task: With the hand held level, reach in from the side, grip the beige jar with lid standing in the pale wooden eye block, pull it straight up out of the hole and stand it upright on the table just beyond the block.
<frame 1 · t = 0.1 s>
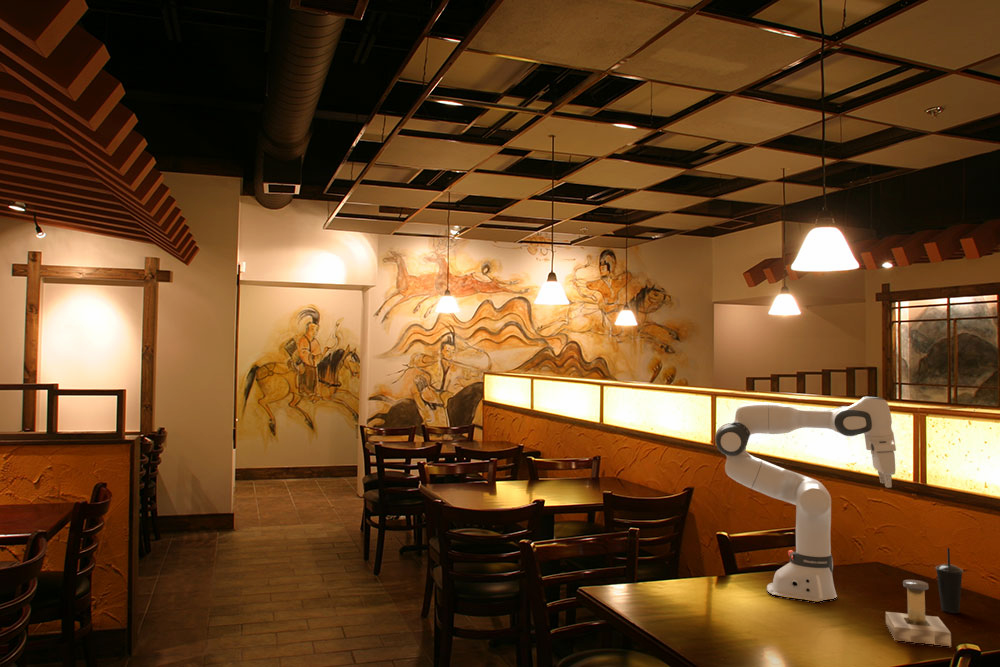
hand: (886, 485, 241), 39 cm above the table, tool pointing down, fingers open, 8 cm apart
eye block: (917, 635, 208), on the table
drinking cup: (950, 612, 230), on the table
beige jar with lid: (916, 609, 209), in the eye block
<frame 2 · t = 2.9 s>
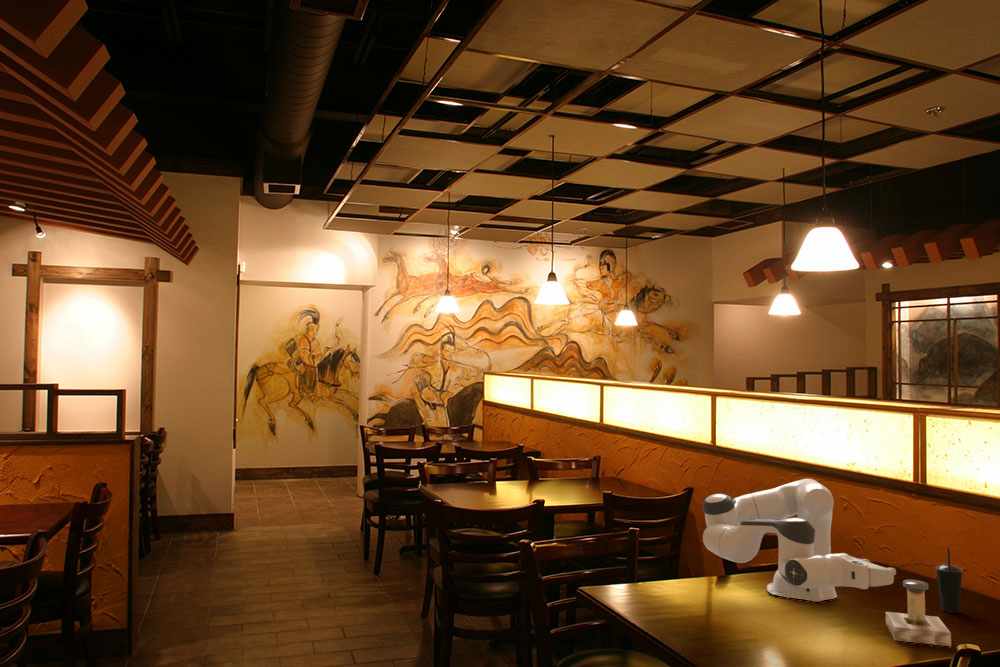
hand: (880, 566, 206), 21 cm above the table, tool horizontal, fingers open, 8 cm apart
nothing on the table moved.
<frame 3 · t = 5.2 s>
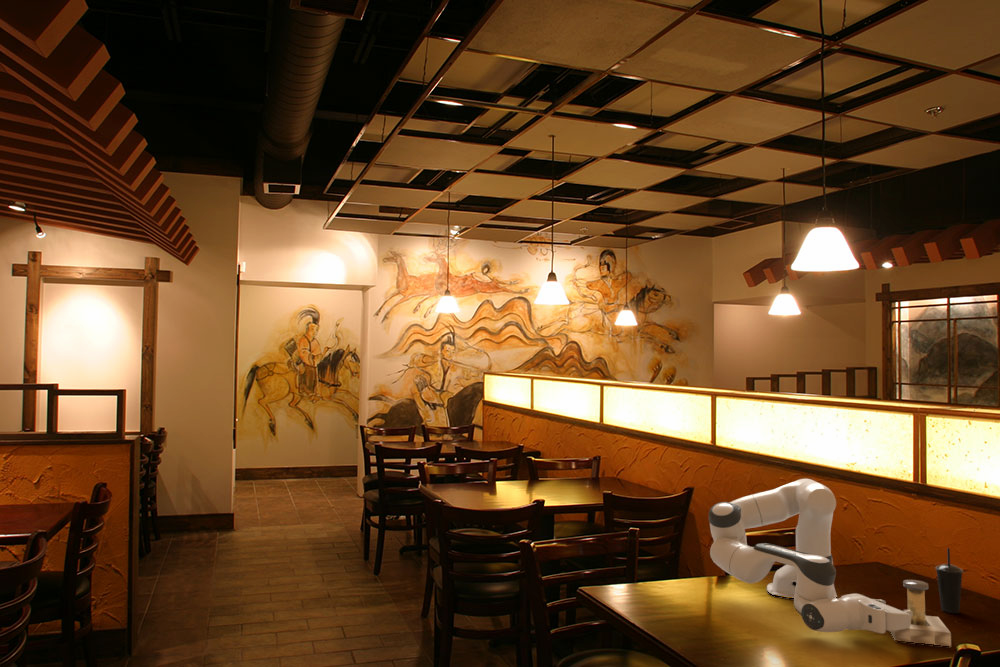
hand: (896, 608, 206), 9 cm above the table, tool horizontal, fingers open, 8 cm apart
nothing on the table moved.
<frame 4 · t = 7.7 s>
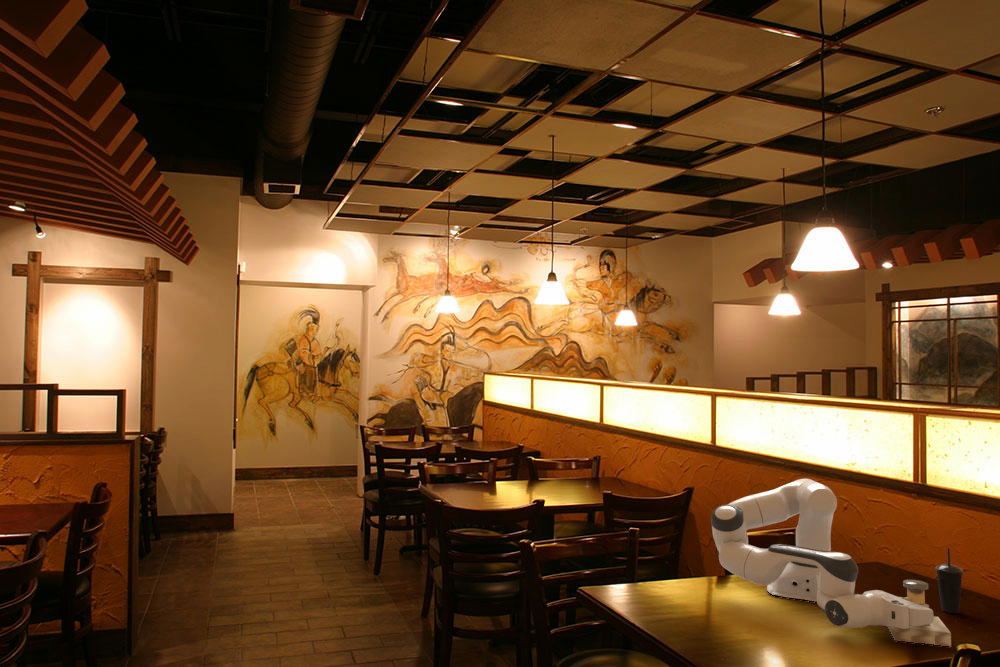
hand: (918, 604, 209), 9 cm above the table, tool horizontal, fingers closed on beige jar with lid, 4 cm apart
beige jar with lid: (916, 609, 209), in the eye block, touching gripper
everything else where it was.
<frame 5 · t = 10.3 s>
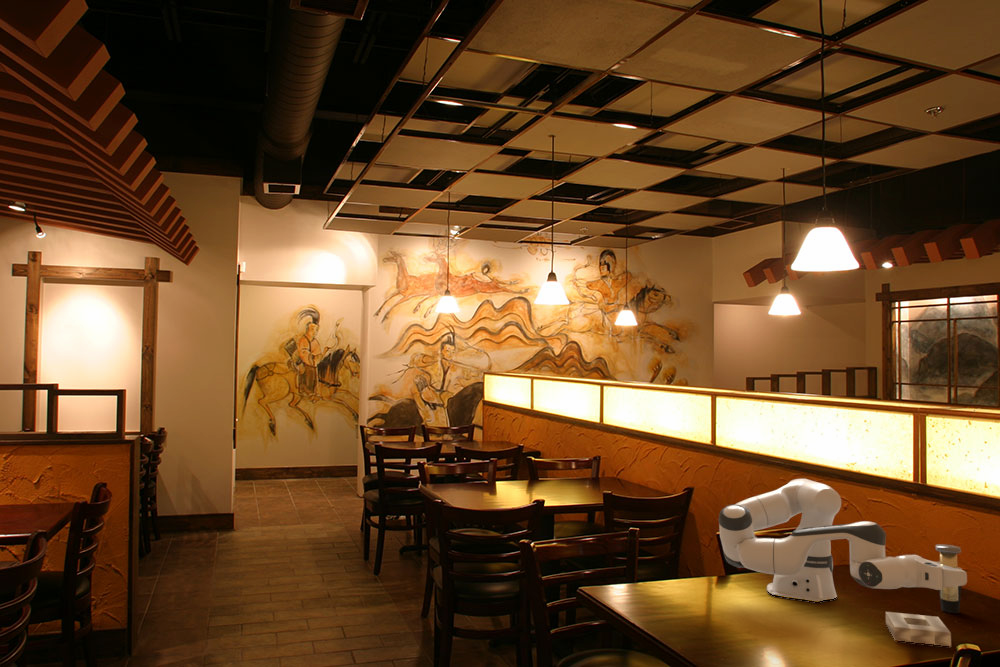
hand: (951, 567, 212), 19 cm above the table, tool horizontal, fingers closed on beige jar with lid, 4 cm apart
beige jar with lid: (948, 572, 212), point 17 cm above the table, touching gripper
everything else where it was.
when the fingers open (10 cm above the table, at t = 13.0 s): beige jar with lid drops 1 cm, on the table.
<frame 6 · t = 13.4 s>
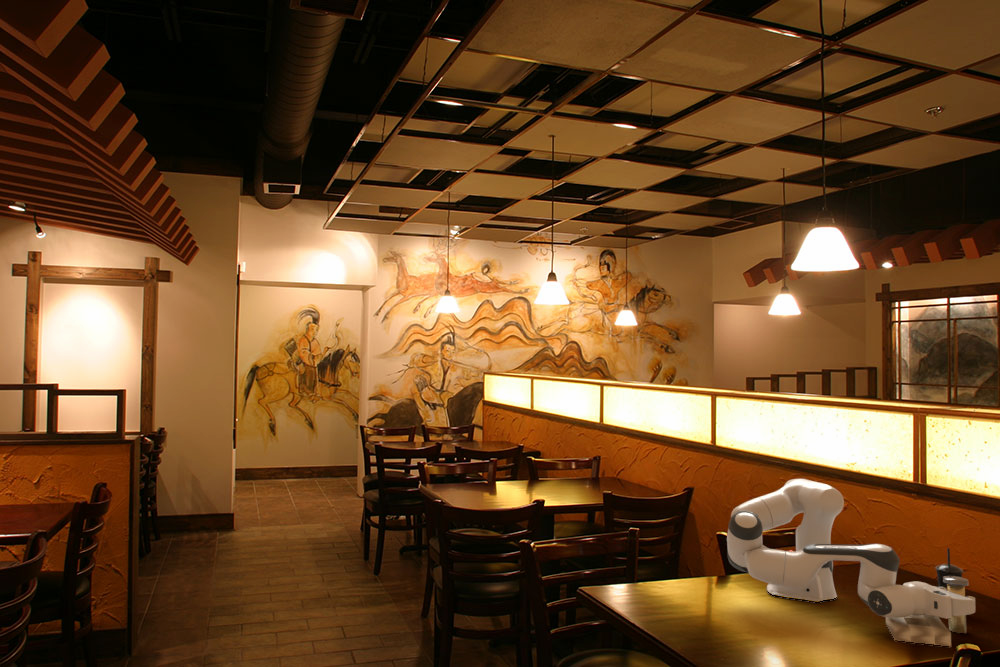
hand: (958, 594, 213), 10 cm above the table, tool horizontal, fingers open, 8 cm apart
beige jar with lid: (956, 604, 213), on the table
everything else where it was.
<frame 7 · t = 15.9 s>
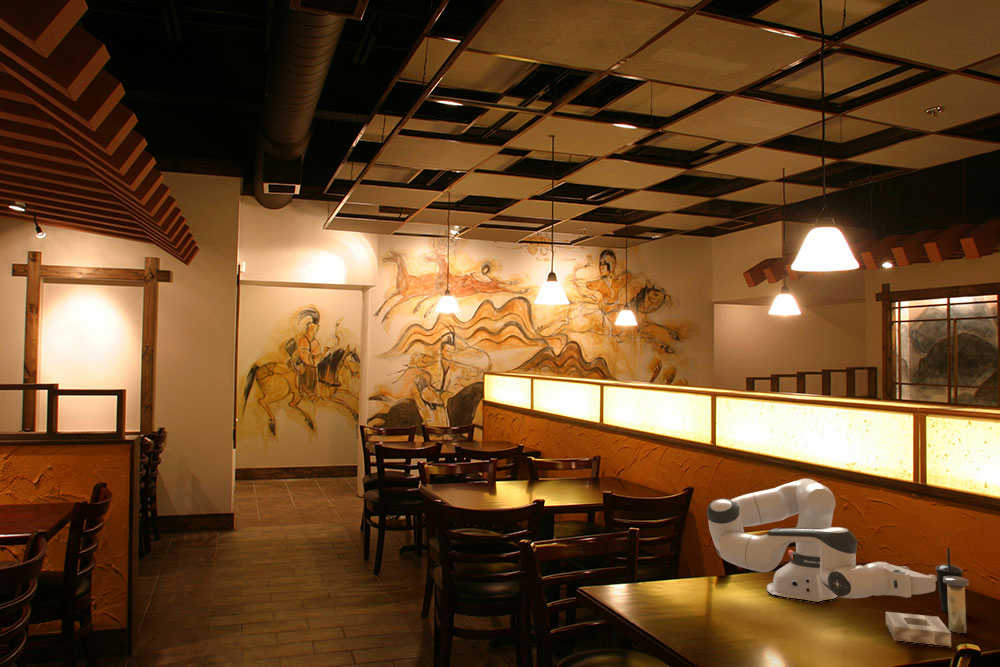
hand: (920, 573, 211), 17 cm above the table, tool horizontal, fingers open, 8 cm apart
nothing on the table moved.
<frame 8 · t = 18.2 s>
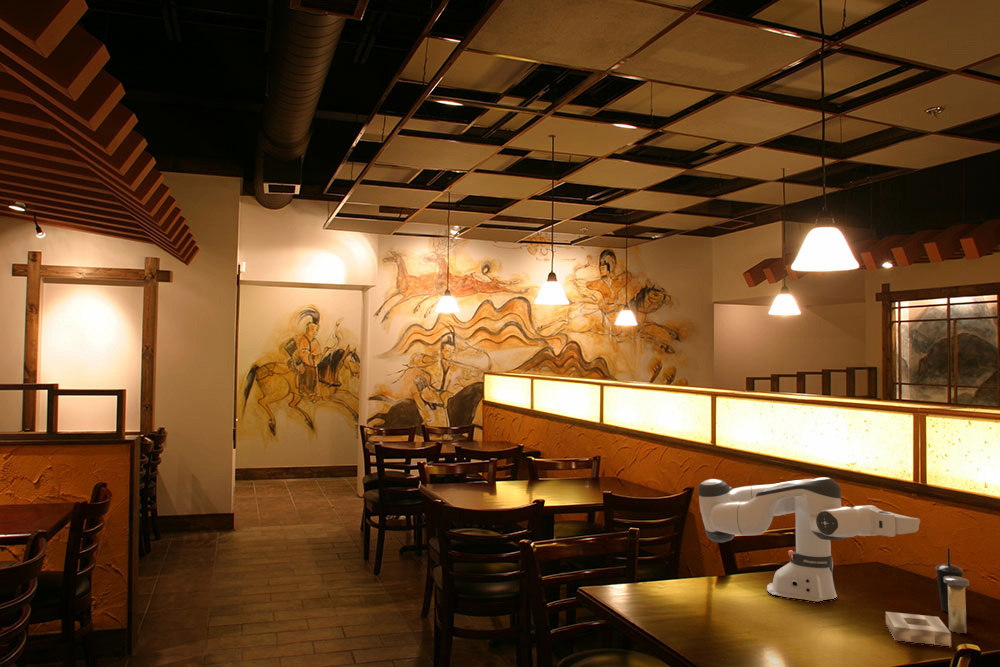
hand: (905, 517, 220), 32 cm above the table, tool horizontal, fingers open, 8 cm apart
nothing on the table moved.
at the end: beige jar with lid inside the target area on the table beside the eye block (0.2 cm from its centre), on the table; beige jar with lid tilted 0°; beige jar with lid touching table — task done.
